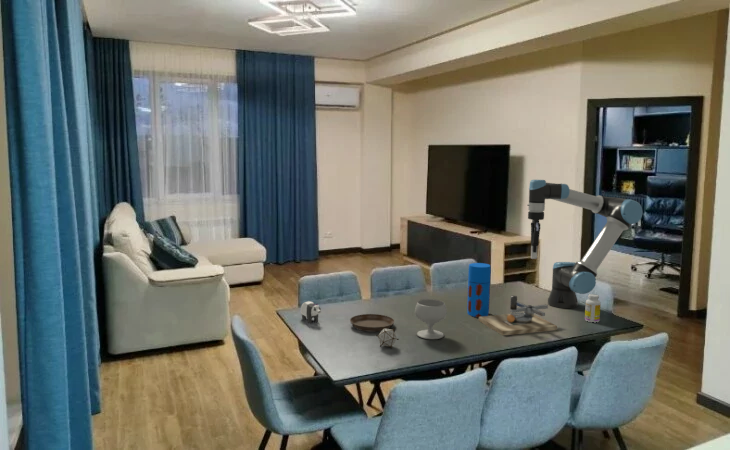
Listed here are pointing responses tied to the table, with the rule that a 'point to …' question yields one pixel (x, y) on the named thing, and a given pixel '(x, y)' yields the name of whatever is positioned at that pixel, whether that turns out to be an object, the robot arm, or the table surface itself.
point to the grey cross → (525, 311)
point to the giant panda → (310, 311)
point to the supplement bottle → (592, 308)
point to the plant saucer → (371, 322)
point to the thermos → (478, 289)
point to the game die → (387, 337)
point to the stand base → (516, 325)
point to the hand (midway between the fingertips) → (533, 258)
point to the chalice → (430, 316)
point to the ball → (510, 318)
